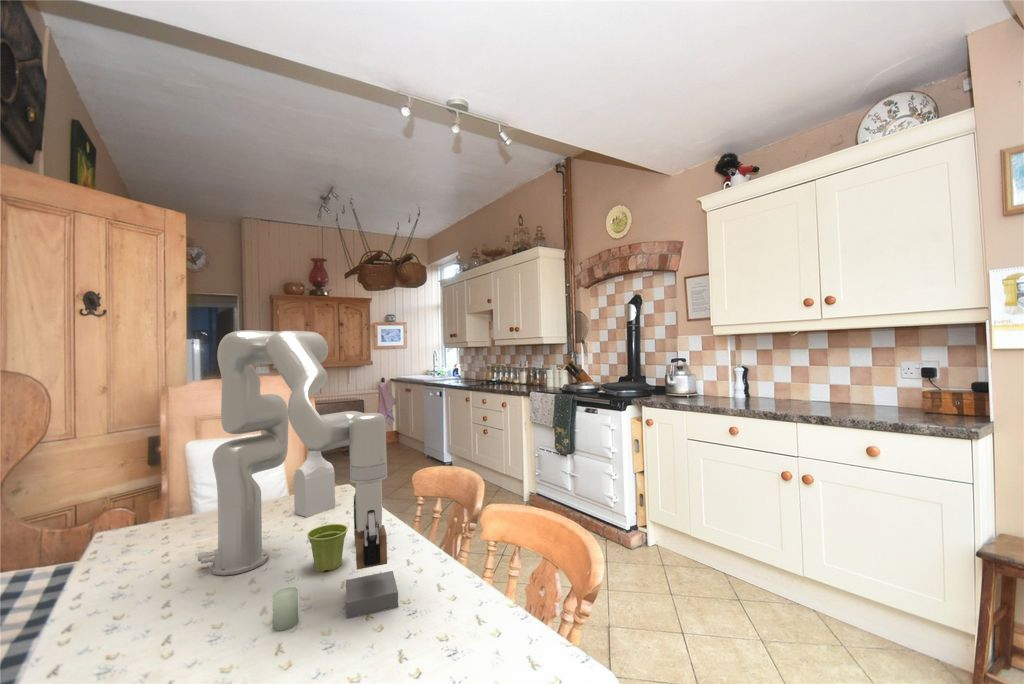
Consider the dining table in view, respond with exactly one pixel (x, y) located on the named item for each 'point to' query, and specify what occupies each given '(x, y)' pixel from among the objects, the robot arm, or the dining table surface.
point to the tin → (285, 608)
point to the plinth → (371, 594)
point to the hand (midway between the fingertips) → (371, 556)
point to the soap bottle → (314, 486)
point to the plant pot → (327, 546)
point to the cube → (361, 541)
